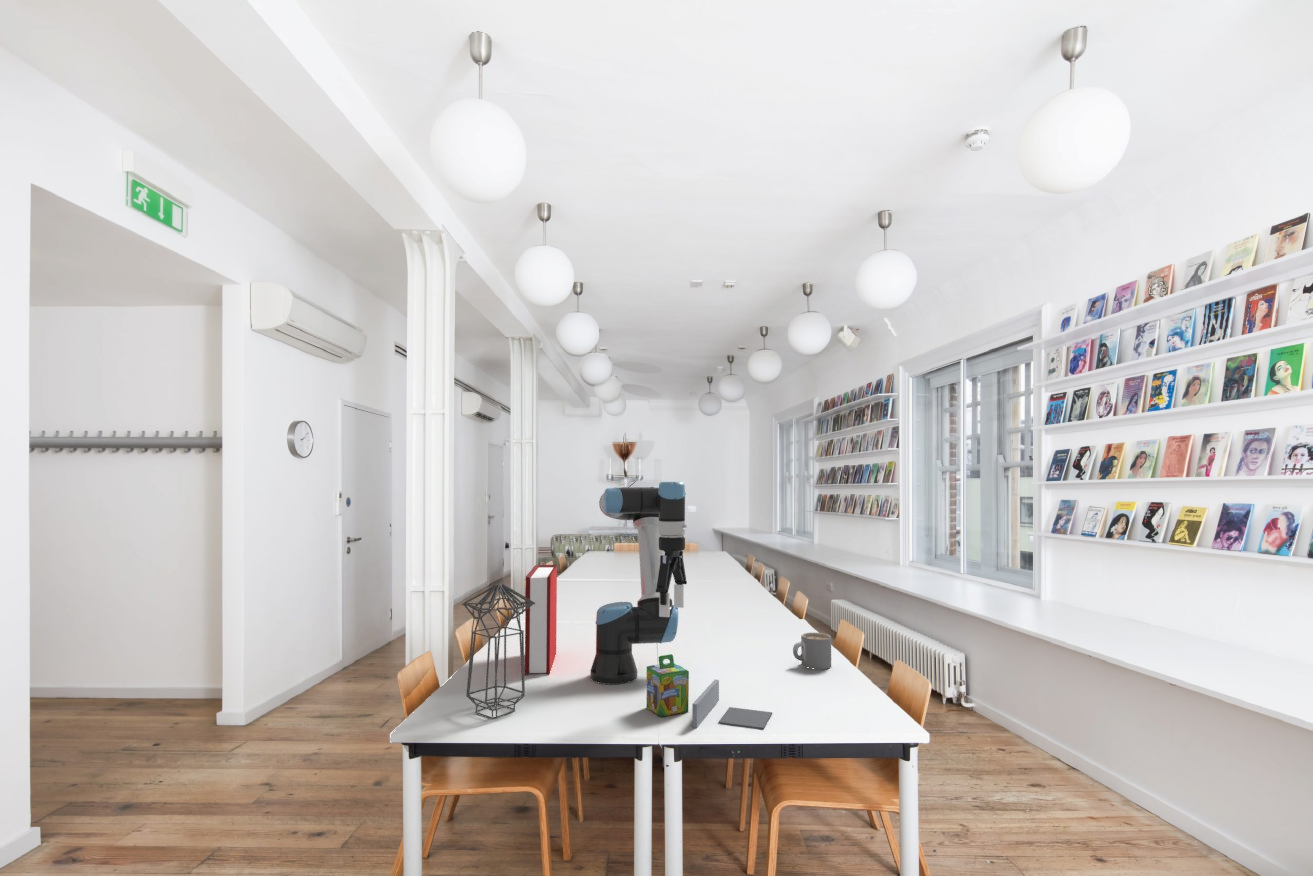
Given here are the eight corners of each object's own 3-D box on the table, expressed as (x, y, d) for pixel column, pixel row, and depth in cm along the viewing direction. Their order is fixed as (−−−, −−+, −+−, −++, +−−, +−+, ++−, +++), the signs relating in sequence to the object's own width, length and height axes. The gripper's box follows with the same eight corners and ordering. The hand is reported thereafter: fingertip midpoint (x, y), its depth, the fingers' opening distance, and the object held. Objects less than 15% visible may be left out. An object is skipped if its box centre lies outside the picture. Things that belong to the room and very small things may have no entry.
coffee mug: (826, 661, 236) (825, 632, 237) (835, 669, 226) (834, 639, 227) (788, 661, 236) (788, 632, 236) (796, 670, 226) (795, 639, 226)
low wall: (692, 727, 175) (692, 703, 175) (714, 700, 195) (714, 679, 196) (696, 728, 174) (696, 704, 175) (718, 701, 195) (718, 680, 195)
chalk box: (660, 718, 182) (660, 662, 182) (645, 707, 190) (645, 654, 190) (690, 712, 186) (689, 658, 187) (673, 702, 194) (673, 650, 195)
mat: (718, 723, 177) (718, 721, 178) (729, 708, 189) (729, 707, 189) (763, 729, 173) (763, 727, 173) (772, 713, 185) (772, 712, 185)
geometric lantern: (455, 713, 185) (458, 584, 188) (502, 699, 197) (504, 578, 200) (489, 726, 175) (493, 589, 178) (537, 711, 187) (539, 583, 190)
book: (549, 675, 220) (550, 576, 222) (524, 675, 219) (525, 576, 221) (556, 652, 247) (557, 564, 249) (534, 653, 247) (535, 565, 248)
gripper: (671, 540, 178) (671, 622, 177) (696, 532, 202) (696, 604, 201) (644, 539, 180) (644, 620, 179) (672, 532, 204) (672, 603, 203)
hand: (671, 612), depth 190 cm, fingers open, 13 cm apart
